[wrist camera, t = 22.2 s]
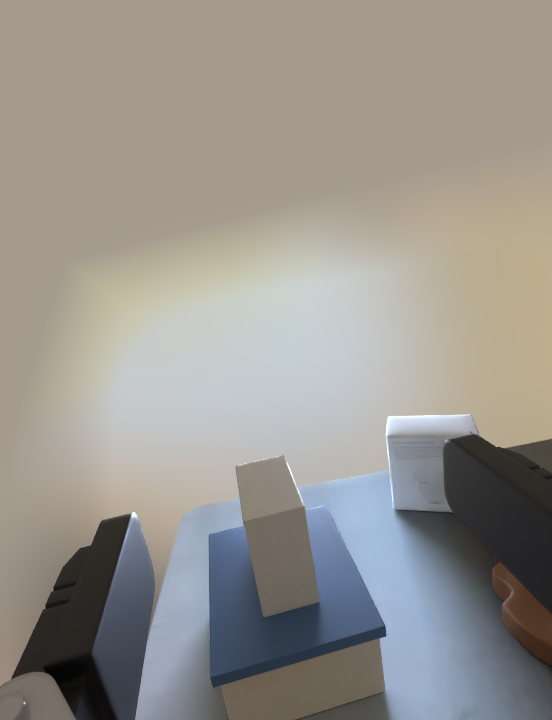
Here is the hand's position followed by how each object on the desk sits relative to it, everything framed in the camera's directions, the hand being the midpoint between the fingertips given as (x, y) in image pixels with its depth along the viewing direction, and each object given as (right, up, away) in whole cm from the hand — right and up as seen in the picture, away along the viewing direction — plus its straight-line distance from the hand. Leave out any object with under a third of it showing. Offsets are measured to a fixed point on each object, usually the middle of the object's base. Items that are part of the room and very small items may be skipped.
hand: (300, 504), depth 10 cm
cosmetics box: (+20, -14, +42) cm, 49 cm away
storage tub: (+1, -22, +27) cm, 34 cm away
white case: (0, -15, +25) cm, 29 cm away
